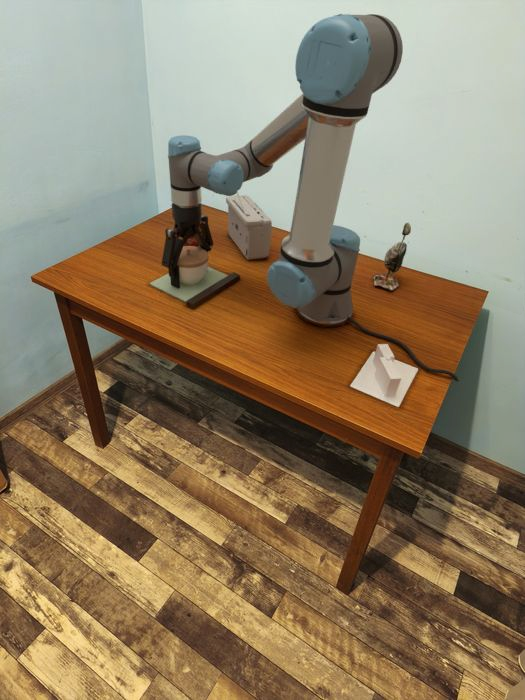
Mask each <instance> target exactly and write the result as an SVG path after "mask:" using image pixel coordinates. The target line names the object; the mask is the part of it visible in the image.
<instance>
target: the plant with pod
mask: <svg viewBox="0 0 525 700" xmlns="http://www.w3.org/2000/svg"><path fill="white" fill-rule="evenodd" d="M411 226H412V225H411V224H410V223H409V222H405V223H404V225H403V229H402V232H401V234H402V236H403V238H402V240H401V241H399V242H396V243H395V244H394V245H393V246H392V247H390V248H389V249H388V250H387V251H386V253H385V255H384V261H383V262H384V263H383V265H384V267H385V269H387V270H388V271H387V274H386V273H380V274H379V273H377V274H375V275H374V276H373V282H374V283H373V286H375V287H376V286H377V287H382V288H384V289H386V290H388V291H395V290H396V289H397V287H399V286H400V282H399V281H398V279H397V277H393V276H394V275H395V274H396V273H398V271H399V270H400V269H401V267H402V265H403V261H404V258H405V256H406V253H407V248H408V244H409V243H410V242H409V241H407V243H408V244H407V243H406V242H404V240H405V238H406V236H409V235H410V234H411V231H412V227H411Z"/></svg>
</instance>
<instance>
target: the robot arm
mask: <svg viewBox="0 0 525 700" xmlns="http://www.w3.org/2000/svg"><path fill="white" fill-rule="evenodd" d="M403 49H404V47H403V39H402V36H401V33H400V31H399V29H398V27H397V25H396V24H395V23H394V22H393V21H392V20H390V19H389V18H387V17H386V16H385V15H380V14H374V13H373V14H372V13H371V14H370V13H369V14H350V13H348V14H347V13H339V14H335V15H333V16H328V17H325V18H322V19H320V20H318V21H317V22H316V23H314V25H312V26H311V27H310V28H309V29H308V30H307V32H306V33H305V34H304V36H303V38H302V39H301V41H300V44H299V46H298V48H297V52H296V57H295V77H296V81H297V82H298V83H299V85H300V86H299V89H300V91H301V94H300V95H299V96H298V97H297V98H296V99H295V100H294V101H293V102H291V103H290V105H288V106H287V107H286V108H285V109H284V110H283V111H282V112H280V113H279V114H278V115H277V116H276V117H275V118H274V119H273V120H271V122H269V123H268V124H267V125H266V126H265V127H263V129H262V130H261V131H260V132H258V133H257V134H256V135H255V136H254V137H253V138H252V139H251V140H250V141H248V142H247V143H246V144H245V145H244V146H242V147H239V148H236V149H234V150H231V151H227V152H224V153H220V154H217V155H216V154H215V155H214V154H210V153H207V152H204V151H202V150H201V149H202V146H201V140H200V139H198V137H196V136H192V135H183V134H182V135H176V136H173V137H171V138H170V139H169V140H168V145H167V147H168V148H167V158H168V169H169V170H168V171H169V172H168V173H169V184H170V200H171V216H172V217H171V218H172V219H173V220H174V225H173V227H172V228H165V231H164V232H165V241H164V247H163V252H162V253H163V254H162V258H161V266H163V267H165V268H167V269H168V273H169V277H170V278H171V285H172V286H174V287H176V288H180V278H179V266H177V263H178V260H179V257H180V254H181V251H182V249H183V246H184V244H186V242H187V239H189V238H190V237H194V238H195V240H196V241H197V243H198V244H197V245H198V247H199V248H202V249H204V250H205V251H206V252H207V253H208V254H209V252H211V251H212V247H213V246H214V240H213V237H212V233H211V229H210V225H209V216H208V215H205V214H202V213H203V211H202V202H203V201H202V188H204V189H206V190H208V191H210V192H213V193H215V194H218V195H222V196H225V197H229V196H236V195H237V191H238V192H239V190H241V188H242V187H243V183H245V182H248V181H252V180H253V179H256V178H260V177H263V176H264V175H266V174H268V173H269V172H271V171H272V169H273V167H274V164H276V163H277V162H278V161H279V160H280V159H282V158H283V157H284V156H286V155H287V154H288V153H290V152H291V151H292V150H293V149H295V148H296V147H297V146H298V145H300V144H301V143H302V142H303V141H304V146H303V151H302V157H301V163H300V169H299V176H298V181H297V189H296V195H295V199H294V207H293V212H292V213H293V214H292V218H291V225H290V232H289V234H288V235H287V236H285V237H284V238H282V240H281V242H280V243H281V244H280V248H279V249H280V251H279V255H278V260H276V261H274V262H273V263H272V264H271V265H270V266H269V268H268V270H267V273H266V280H267V285H268V288H269V290H270V292H272V294H273V296H274V297H275V299H276V300H278V301H279V302H280V303H281V304H282V305H284V306H287V307H288V308H292V309H295V313H296V314H297V316H298V317H299V318H300V319H301V320H302V321H305V322H306V323H308V324H310V325H313V326H317V327H321V328H337V327H341V326H343V325H345V324H347V323H348V322H350V323H351V324H352V325H354V326H355V327H356V328H357V329H358V330H360V331H362V332H364V333H365V334H367V335H371V336H373V337H377V338H380V339H384V340H386V341H390V342H393V343H395V344H397V345H398V346H399V347H401V348H403V349H404V350H405V351H406V352H407V354H408V355H409V356H410V357H411V359H412V360H413V361H414V362H415V363H416V365H417V366H419V367H421V368H422V369H424V370H425V371H427V372H430V373H435V374H444V375H448V376H450V377H451V378H452V379H453V380H454V381H455V382H460V380H459V378H458V377H457V375H456V374H455V373H453V372H452V371H450V370H446V369H437V368H432V367H429V366H427V365H426V364H425V363H423V362H421V361H420V360H419V359H418V357H417V356H416V355H415V354H414V352H412V350H411V349H410V348H409V347H408V346H407V345H406V344H405V343H403V342H402V341H400V340H398V339H396V338H394V337H391V336H387V335H385V334H380V333H377V332H374V331H371V330H368V329H367V328H365V327H363V326H362V325H360V324H359V322H358V321H355V319H353V318H352V317H353V313H354V303H353V298H352V292H351V291H352V290H351V289H352V284H353V279H354V275H355V270H356V266H357V261H358V257H359V252H360V250H361V249H360V246H361V237H360V236H359V235H358V233H356V232H355V230H354V231H353V230H352V229H350V228H347V227H344V226H341V225H337V224H336V225H335V224H334V223H335V219H336V214H337V211H338V205H339V202H340V197H341V192H342V188H343V184H344V180H345V176H346V175H345V174H346V171H347V166H348V162H349V158H350V152H351V148H352V143H353V141H354V140H353V139H354V135H355V132H356V127H357V124H358V123H359V122H360V121H362V120H363V119H365V118H366V117H367V116H368V112H369V108H370V105H371V100H372V96H373V94H374V93H376V92H377V91H379V90H380V89H382V88H384V87H385V86H386V85H387V84H389V83H390V82H391V80H392V79H393V78H394V77H395V76H396V74H397V72H398V71H399V68H400V65H401V63H402V59H403ZM199 227H200V230H199ZM179 237H181V238H183V239H182V240H181V239H179ZM172 261H173V262H172Z"/></svg>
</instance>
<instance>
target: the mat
mask: <svg viewBox="0 0 525 700" xmlns="http://www.w3.org/2000/svg"><path fill="white" fill-rule="evenodd" d="M228 275H229V274H226V273H225V272H221V271H219V270H217V269H215V268H212V267H210V266H208V268H207V272H206V274H205V276H204V277H203V278H202V279H201V280H200V282H199V283H197V284H193V285H186V284H183V283H181V282H180V288H176V287H174V286H172V285H171V278H170V277H169V272H168V273H166V274H165V275H162V276H161V277H159V278H157V279H155V280H153V281H151V282H149V286H150V287H153V288H155V289H157V290H159V291H161V292H162V293H163V292H164V293H165V294H167V295H169V296H171V297H174V298H175V299H177V300H179V301H181V302H183V303H185V304H186V301H187V300H189V299H190V298H192V297H194V296H195V295H197V294H198V293H200V292H202V291H203V290H205V289H207V288H208V287H210V286H212V285H213V284H215V283H216V282H218V281H220V280H221V279H223V278H225V277H226V276H228Z"/></svg>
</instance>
